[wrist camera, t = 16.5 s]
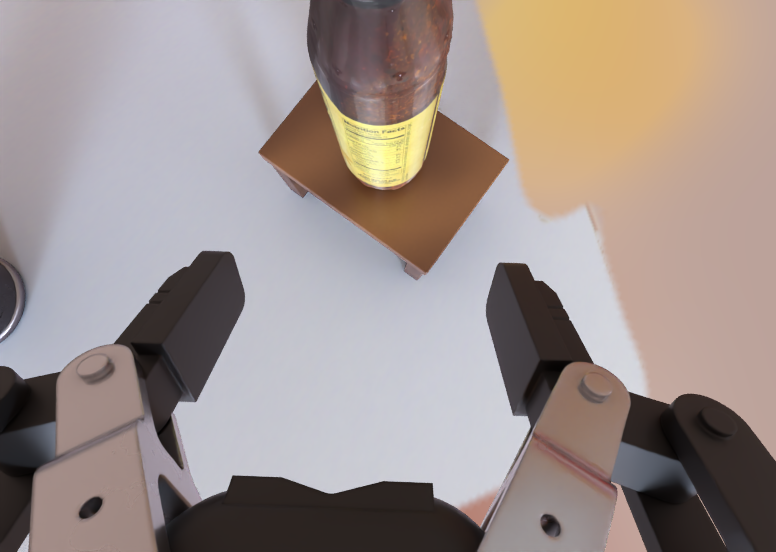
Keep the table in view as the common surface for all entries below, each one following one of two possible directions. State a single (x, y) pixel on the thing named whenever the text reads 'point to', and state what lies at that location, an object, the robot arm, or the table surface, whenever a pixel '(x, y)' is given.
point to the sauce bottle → (381, 80)
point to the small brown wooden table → (389, 207)
